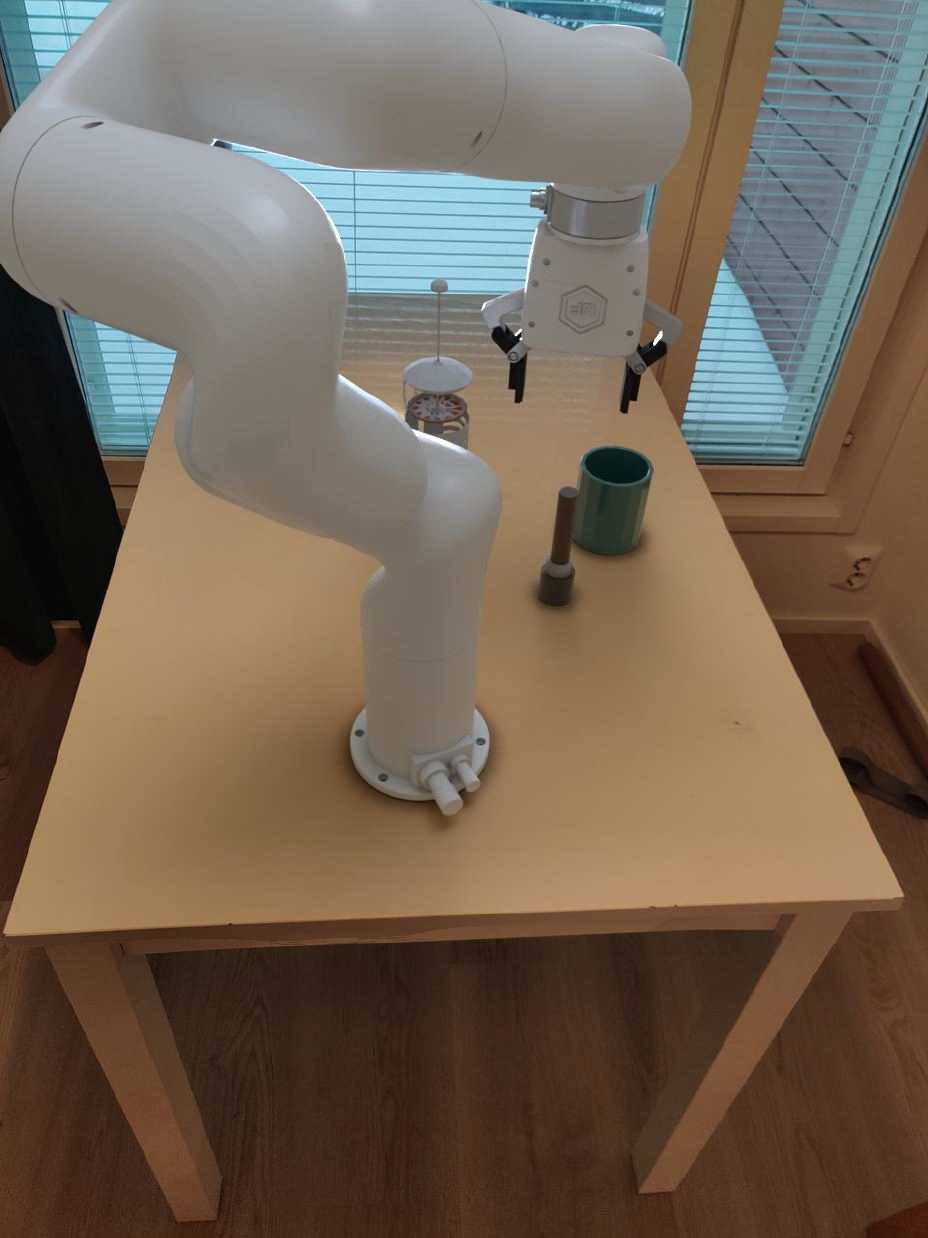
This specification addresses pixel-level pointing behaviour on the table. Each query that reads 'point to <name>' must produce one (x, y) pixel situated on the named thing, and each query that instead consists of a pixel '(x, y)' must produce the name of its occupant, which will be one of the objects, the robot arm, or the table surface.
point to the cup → (611, 499)
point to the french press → (438, 391)
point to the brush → (560, 552)
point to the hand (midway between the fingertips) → (571, 400)
